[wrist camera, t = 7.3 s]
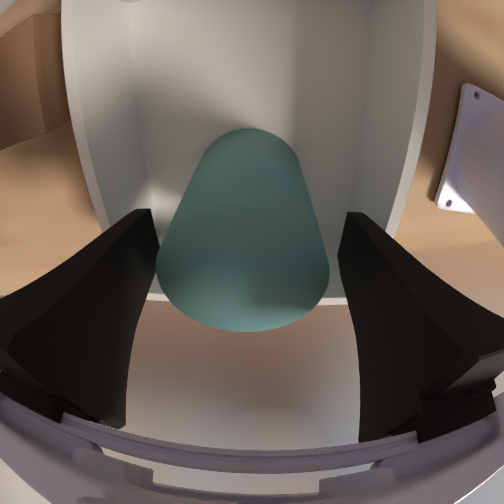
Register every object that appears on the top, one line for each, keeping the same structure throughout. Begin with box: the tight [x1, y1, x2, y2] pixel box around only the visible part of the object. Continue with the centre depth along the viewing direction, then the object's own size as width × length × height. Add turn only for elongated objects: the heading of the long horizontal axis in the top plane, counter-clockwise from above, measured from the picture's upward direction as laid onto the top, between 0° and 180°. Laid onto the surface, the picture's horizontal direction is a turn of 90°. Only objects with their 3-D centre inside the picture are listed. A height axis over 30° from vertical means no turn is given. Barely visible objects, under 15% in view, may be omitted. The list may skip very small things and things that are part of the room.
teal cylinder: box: [156, 129, 330, 332], centre depth 10 cm, size 5×5×7 cm
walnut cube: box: [0, 14, 71, 150], centre depth 7 cm, size 5×5×5 cm
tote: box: [61, 0, 437, 305], centre depth 10 cm, size 12×14×5 cm
